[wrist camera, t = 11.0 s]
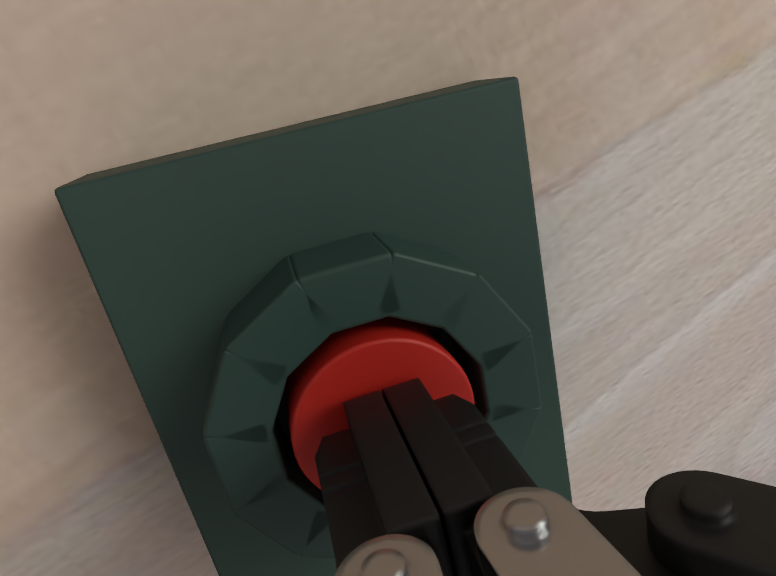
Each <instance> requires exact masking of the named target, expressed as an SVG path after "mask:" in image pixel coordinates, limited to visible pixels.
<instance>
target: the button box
mask: <svg viewBox="0 0 776 576" xmlns="http://www.w3.org/2000/svg"><path fill="white" fill-rule="evenodd" d="M55 195H56V197H57V200H58V202H59V204H60V207H61V209H62V211H63V214H64V216H65V218H66V221H67V223H68V225H69V228H70V230H71V232H72V235H73V237H74V239H75V242H76V244H77V246H78V249H79V251H80V253H81V256H82V258H83V260H84V263H85V265H86V267H87V270H88V272H89V274H90V277H91V279H92V281H93V283H94V286H95V288H96V290H97V293H98V295H99V297H100V300H101V302H102V304H103V307H104V309H105V311H106V314H107V316H108V318H109V321H110V323H111V325H112V328H113V330H114V332H115V335H116V337H117V339H118V342H119V344H120V346H121V349H122V351H123V353H124V356H125V358H126V360H127V363H128V365H129V367H130V370H131V372H132V374H133V377H134V379H135V381H136V384H137V386H138V388H139V391H140V393H141V395H142V398H143V400H144V402H145V405H146V407H147V409H148V412H149V414H150V416H151V419H152V421H153V423H154V426H155V428H156V430H157V433H158V435H159V437H160V440H161V442H162V444H163V447H164V449H165V451H166V453H167V456H168V458H169V460H170V463H171V465H172V467H173V470H174V472H175V474H176V477H177V479H178V481H179V484H180V486H181V488H182V491H183V493H184V495H185V498H186V500H187V502H188V505H189V507H190V509H191V512H192V514H193V516H194V519H195V521H196V523H197V526H198V528H199V530H200V533H201V535H202V537H203V540H204V542H205V544H206V547H207V549H208V551H209V554H210V556H211V558H212V561H213V563H214V565H215V568H216V570H217V572H218V575H219V576H335V574H336V571H337V568H336V560H335V555H334V550H333V545H332V540H331V535H330V530H329V526H328V521H327V516H326V511H325V506H324V501H323V495H322V491H321V490H320V489H319V488H318V487H317V486H315V485H314V484H313V483H312V482H311V481H310V480H309V479H308V478H307V476H306V475H305V474H304V473H303V471H302V469H301V468H300V466H299V465H298V462H297V460H296V457H295V455H294V451H293V447H292V442H291V435H290V428H289V421H288V414H287V407H286V399H285V384H286V380H287V377H288V376H289V375H290V374H291V373H292V372H293V371H294V370H295V369H296V368H297V367H298V366H299V365H300V364H301V363H302V362H303V361H304V360H305V359H306V358H307V357H308V356H309V355H310V354H311V353H312V352H313V351H314V350H315V349H316V348H317V347H318V346H319V345H320V344H321V343H322V342H324V341H325V340H326V339H327V338H328V337H329V336H330V335H331V334H332V333H336V332H339V331H342V330H345V329H349V328H352V327H355V326H359V325H362V324H365V323H369V322H372V321H375V320H379V319H382V318H385V317H392V318H397V319H401V320H406V321H411V322H415V323H420V324H424V325H425V326H427V327H428V328H429V329H430V330H431V331H432V333H433V334H434V335H435V336H436V337H437V338H438V340H439V341H440V342H441V343H442V344H443V346H444V347H445V348H446V349H447V350H448V352H449V353H450V354H451V355H452V356H453V358H454V359H455V360H456V361H457V363H458V364H459V365H460V366H461V367H462V369H463V371H464V372H465V374H466V375H467V377H468V380H469V382H470V384H471V387H472V391H473V395H474V403H475V406H476V407H477V409H478V410H479V411H480V413H481V414H482V415H483V417H484V418H485V419H486V422H487V423H489V424H490V426H491V427H492V428H493V429H494V431H495V432H496V434H497V437H498V436H499V437H500V438H501V440H502V441H503V442H504V444H505V445H506V446H507V448H508V449H509V450H510V451H511V453H512V454H513V455H514V457H515V458H516V459H517V460H518V462H519V463H520V464H521V466H522V467H523V468H524V470H525V471H526V472H527V473H528V475H529V476H530V477H531V479H532V480H533V481H534V482H535V484H536V485H537V486H538V488H543V489H547V490H550V491H553V492H555V493H558V494H560V495H561V496H563V497H564V498H566V499H567V500H568V501H569V502H571V503H572V497H571V490H570V482H569V474H568V466H567V458H566V451H565V443H564V435H563V427H562V419H561V411H560V404H559V396H558V388H557V380H556V372H555V364H554V357H553V349H552V341H551V333H550V325H549V317H548V310H547V302H546V294H545V286H544V278H543V271H542V263H541V255H540V247H539V239H538V231H537V224H536V216H535V208H534V200H533V192H532V184H531V177H530V169H529V161H528V153H527V145H526V137H525V130H524V122H523V114H522V106H521V98H520V91H519V83H518V79H517V77H507V78H497V79H487V80H477V81H472V82H468V83H464V84H460V85H455V86H451V87H447V88H443V89H439V90H435V91H431V92H426V93H422V94H418V95H414V96H410V97H406V98H402V99H397V100H393V101H389V102H385V103H381V104H377V105H373V106H369V107H364V108H360V109H356V110H352V111H348V112H344V113H340V114H335V115H331V116H327V117H323V118H319V119H315V120H311V121H306V122H302V123H298V124H294V125H290V126H286V127H282V128H278V129H273V130H269V131H265V132H261V133H257V134H253V135H249V136H244V137H240V138H236V139H232V140H228V141H224V142H220V143H215V144H211V145H207V146H203V147H199V148H195V149H191V150H187V151H182V152H178V153H174V154H170V155H166V156H162V157H158V158H153V159H149V160H145V161H141V162H137V163H133V164H129V165H125V166H120V167H116V168H112V169H108V170H104V171H100V172H96V173H91V174H87V175H85V176H83V177H80V178H78V179H76V180H74V181H72V182H69V183H67V184H65V185H63V186H60V187H58V188H57V189H55Z"/></svg>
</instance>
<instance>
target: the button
mask: <svg viewBox="0 0 776 576" xmlns="http://www.w3.org/2000/svg"><path fill="white" fill-rule="evenodd" d="M415 378H419V379H420V380H421V382H422V383H423V385H424V386H425V388H426V389H427V391H428V393H429V394H430V396H431V397H432V399H433V400H436V399H439V398H442V397H445V396H448V395H451V394H454V395H457V396H459V397H461V398H463V399H465V400H467V401H469V402H471V403H473V404H474V405H475V403H474V395H473V391H472V387H471V384H470V382H469V380H468V377H467V375H466V374H465V372H464V371H463V369H462V367H461V366H460V365H459V364H458V363H457V361H456V360H455V359H454V358H453V356H452V355H451V354H450V353H449V352H448V350H447V349H446V348H445V347H444V346H443V344H442V343H441V342H440V341H439V340H438V338H437V337H436V336H435V335H434V334H433V333H432V331H431V330H430V329H429V328H428V327H427V326H425V325H424V324H420V323H415V322H411V321H406V320H401V319H397V318H392V317H385V318H382V319H379V320H375V321H372V322H369V323H365V324H362V325H359V326H355V327H352V328H349V329H345V330H342V331H339V332H336V333H332V334H331V335H330V336H329V337H328V338H327V339H326V340H325V341H324V342H322V343H321V344H320V345H319V346H318V347H317V348H316V349H315V350H314V351H313V352H312V353H311V354H310V355H309V356H308V357H307V358H306V359H305V360H304V361H303V362H302V363H301V364H300V365H299V366H298V367H297V368H296V369H295V370H294V371H293V372H292V373H291V374H290V375H289V376H288V377H287V380H286V384H285V399H286V407H287V414H288V421H289V428H290V435H291V442H292V447H293V451H294V455H295V457H296V460H297V462H298V465H299V466H300V468H301V469H302V471H303V473H304V474H305V475H306V476H307V478H308V479H309V480H310V481H311V482H312V483H313V484H314V485H315V486H317V487H318V488H319V489H320V490H321V486H320V480H319V476H318V471H317V466H316V461H315V455H316V453H317V450H318V447H319V445H320V442H321V440H322V437H324V436H327V435H330V434H333V433H336V432H339V431H342V430H345V429H348V428H349V424H348V421H347V417H346V414H345V410H344V407H343V403H342V402H344V401H347V400H350V399H353V398H356V397H359V396H363V395H366V394H369V393H372V392H375V391H378V390H379V391H380V393H381V395H382V389H384V388H387V387H390V386H393V385H396V384H399V383H402V382H406V381H409V380H412V379H415ZM382 397H383V396H382Z"/></svg>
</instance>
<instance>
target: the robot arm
mask: <svg viewBox="0 0 776 576" xmlns="http://www.w3.org/2000/svg"><path fill="white" fill-rule="evenodd" d="M382 396H383V397H382ZM342 403H343V407H344V410H345V414H346V417H347V421H348V424H349V428H348V429H345V430H342V431H339V432H336V433H333V434H330V435H327V436H324V437H322V440H321V442H320V445H319V447H318V450H317V453H316V455H315V461H316V466H317V471H318V476H319V480H320V486H321V491H322V495H323V501H324V506H325V511H326V516H327V521H328V526H329V530H330V535H331V540H332V545H333V550H334V555H335V560H336V568H337V571H336V574H335V576H776V487H774V486H769V485H765V484H761V483H757V482H752V481H748V480H744V479H740V478H735V477H731V476H727V475H723V474H718V473H713V472H708V471H697V470H694V471H681V472H675V473H672V474H668V475H666V476H664V477H661V478H660V479H658V480H657V481H655V482H654V483H653V484H652V485H651V486H650V488H649V489H648V491H647V493H646V497H645V508H637V509H626V510H615V511H600V512H594V511H584V510H578V509H577V508H576V507H575V506H574V505H573V504H572V503H571V502H569V501H568V500H567V499H566V498H564V497H563V496H561V495H560V494H558V493H555V492H553V491H550V490H547V489H543V488H538V486H537V485H536V484H535V482H534V481H533V480H532V479H531V477H530V476H529V475H528V473H527V472H526V471H525V470H524V468H523V467H522V466H521V464H520V463H519V462H518V460H517V459H516V458H515V457H514V455H513V454H512V453H511V451H510V450H509V449H508V448H507V446H506V445H505V444H504V442H503V441H502V440H501V438H500V437H499V436H498V437H497V434H496V432H495V431H494V429H493V428H492V427H491V426H490V424H489V423H487V422H486V419H485V418H484V417H483V415H482V414H481V413H480V411H479V410H478V409H477V407H476V406H475V405H474V404H473V403H471V402H469V401H467V400H465V399H463V398H461V397H459V396H457V395H454V394H451V395H448V396H445V397H442V398H439V399H436V400H433V399H432V397H431V396H430V394H429V393H428V391H427V389H426V388H425V386H424V385H423V383H422V382H421V380H420V379H419V378H415V379H412V380H409V381H406V382H402V383H399V384H396V385H393V386H390V387H387V388H384V389H382V395H381V393H380V391H379V390H378V391H375V392H372V393H369V394H366V395H363V396H359V397H356V398H353V399H350V400H347V401H344V402H342Z"/></svg>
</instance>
